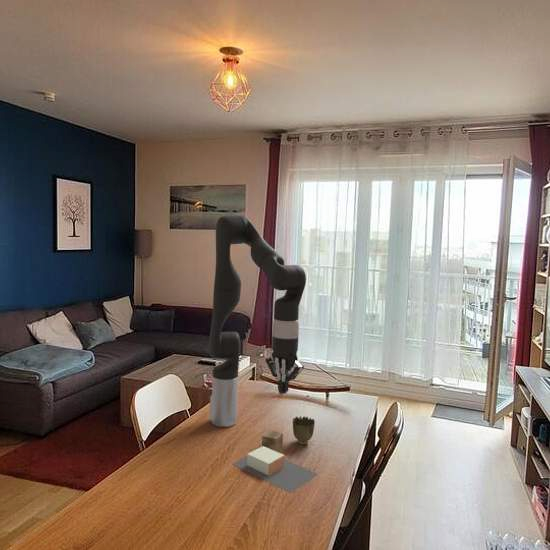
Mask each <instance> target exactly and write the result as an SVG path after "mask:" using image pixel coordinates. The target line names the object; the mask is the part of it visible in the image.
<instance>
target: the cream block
mask: <svg viewBox="0 0 550 550" xmlns="http://www.w3.org/2000/svg"><path fill="white" fill-rule="evenodd" d="M246 457H247V466H250V467H252V468H254V469H256V470H258V471H260V472H262V473H264V474H266V475H268V476H269V475H271V474H273V473H274V472H276V471H278V470H279V469H281V468H283V467H284V461H285V460H286V458H285V457H286V455H285V454H283V453H280V452H279V451H278V452H276V451H274V450H271V449H269V448H267V447H264V446H262V445H261V446H260V447H258V448H257V449H254V450H252V451H250V452H247V455H246Z"/></svg>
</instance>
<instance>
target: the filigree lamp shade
mask: <svg viewBox="0 0 550 550" xmlns="http://www.w3.org/2000/svg"><path fill="white" fill-rule="evenodd" d="M292 429H293V430H292V431H293V436H294V438H295V439H296V440H297V441H296V442H297V444H299V445H301V446H306V445H308V444H309V441H310V440H311V439H312V437H313V436H314V435H313V434H314V432H315V431H314V430H315V419H314V418H311V417H308V416H303V417H302V416H301V415H300V416H299V417H298V416H296V417H294V418H293V419H292Z"/></svg>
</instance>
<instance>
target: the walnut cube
mask: <svg viewBox="0 0 550 550" xmlns="http://www.w3.org/2000/svg"><path fill="white" fill-rule="evenodd" d="M283 435H284V433H283V432H279V431H275V430H271V429H268V430H267V431H266V432H265V433H264V434H262V435H261V447H262V446H264V447H267V448H269V449H271V450H274V451H276V452H278V453H279V451H280V450H281V449H282V448H283Z"/></svg>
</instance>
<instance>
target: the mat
mask: <svg viewBox="0 0 550 550" xmlns="http://www.w3.org/2000/svg"><path fill="white" fill-rule="evenodd" d="M232 465H233V466H235V467H237V468H238V469H241V470H243V471H245V472H248V473H249V474H252V475H253V476H255V477H258V478H260V479H261V480H264V481H266V482H268V483H270V484H272V485H273V486H276V487H278V488H280V489H282V490H284V491H285V492H288V493H290V494H291V493H293V492H295V491H296V490H297V489H299V488H300V487H302V486H304V485H305V484H306V483H308V482H309V481H311V479H313V478H315V477H317V476H318V475H319V473H317V472H315V471H312V470H310V469H308V468H306V467H303V466H302V465H299V464H296V463H294V462H292V461H289V460H287V459H285V461H284V467H283V468H281V469H279V470H278V471H276V472H274V473H273V474H271V475H269V476H268V475H266V474H264V473H262V472H260V471H258V470H256V469H254V468H252V467H250V466H247V456H245V457H244V458H241V459H240V460H237V461H235V462H233V463H232Z"/></svg>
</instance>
